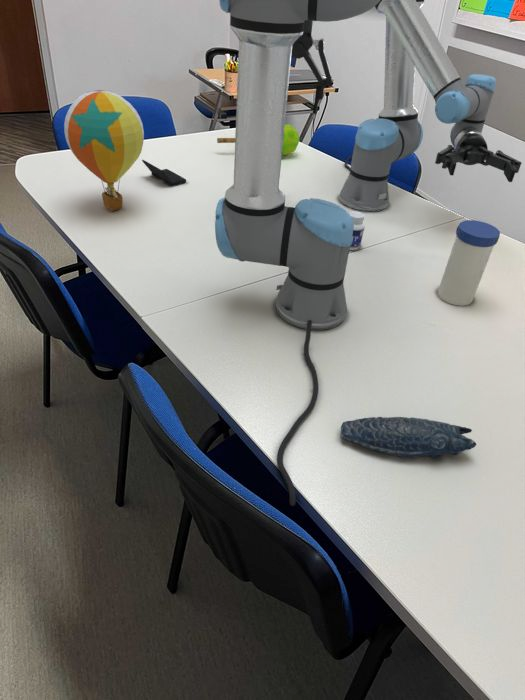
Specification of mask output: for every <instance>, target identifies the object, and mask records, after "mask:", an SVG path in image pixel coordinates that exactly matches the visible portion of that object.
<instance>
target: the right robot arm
mask: <svg viewBox="0 0 525 700" xmlns="http://www.w3.org/2000/svg"><path fill="white" fill-rule="evenodd" d="M424 4H425V0H380V1H379V3H378V4H377V5H376V6H374V8H375V9H376V11H377V13H378V14H381V15H384V16H385V44H384V45H385V46H384V47H385V48H384V51H385V52H384V83H383V85H384V87H383V88H384V89H383V108H382V110H381V111H380V112H379V113H378V118H377V117H376V118H369V119H365V120H363V121H362V122H361V123H360V124H359V125H358V127H357V131H356V134H355V138H354V144H353V145H354V147H353V150H352V151H353V152H352V156H349V157H348V158H347V159H346V160H345V161H344V166H345V168H347V170H349V174H348V176H347V178H346V179H345V182H344V183H343V186H342V188H341V189H340V192H339V197H338V200H339V201H340V203H341V204H343V205H344V206H345V207H348V208H350V209H353V210H355V211H356V210H357V211H360V212H361V211H363V212H381V211H383V210H385V209H387V208H388V206H389V202H390V196H389V195H390V194H389V193H390V192H389V182H388V179H389V175H390V170H391V166H392V163H395V162H398V161H400V160H403V159H406V158H408V157H411V155H413V154H414V153H415V152H416V151H417V150H418V149H419V148H420V146H421V144H422V141H423V138H424V137H423V136H424V129H423V125H422V123H420V121H419V110H418V109H417V108H416V107H415V106H414V96H415V81H416V79H415V78H416V77H415V76H416V70H417V72H418V74H419V76H420V77H421V79H422V81H423V82H424V84H425V86H426V87H427V89H428V92H429V93H430V95H431V96H432V98H433V100H434V101H435V105H434V112H435V117H436V118H437V120H438V121H439V122H441V123H443V124H446V125H449V124H453V126H452V127H451V129H450V136H449V137H450V143H451V144H448V145H447V147H445V148H443V149H442V150H440V151H438V152H437V154H436V158H435V162H434V164H435V165H441V168H442V169H443V170H446V169H447V170H448V173H449V176H454V174H455V171H456V168H457V164H458V163H460V164H463V165H465V166H474V165H479V164H480V165H482V166H484V167H487V166H490V167H493V168H495V169H498V170H500V171H502V172H503V175H504V176H505V178H506V180H507V182H508V183H513V181H514V177H515V175H516V174H518V173H519V172H520V169H521V166H522V163H523V162H521V161H519V160H518V159H516V158H514V157H512V156H510V155H507V154H506V153H504V152H503V151H502V150H499V149H497V150H496V152H494V151H492V150H489V149H488V148H489V147H488V144H487V141H486V139H485V137H484V136H483V133H482V132H483V129H484V126H485V122H486V118H487V116H488V112H489V108H490V107H491V106H490V105H491V102H492V99H493V96H494V94H495V89H496V84H497V78H495V77H494V76H492V75H487V74H479V73H474V74H470V75H469V76H467V79H466V82H465V83H464V81H463V80H462V79H461V76H460V75H459V73H458V71H457V69H456V68H455V66H454V64H453V62H452V61H451V59H450V57H449V56H448V54H447V52H446V50H445V49H444V47H443V45H442V43H441V42H440V40H439V38H438V37H437V34H436V33H435V31H434V30H433V28H432V26H431V24H430V23H429V21H428V19H427V17H426V15H425V13H424V12H423V11H422V9H421V8H422V6H423V5H424ZM350 160H351V163H350V166H349V165H348V162H349V161H350Z"/></svg>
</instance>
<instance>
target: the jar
mask: <svg viewBox="0 0 525 700" xmlns="http://www.w3.org/2000/svg"><path fill="white" fill-rule="evenodd" d="M494 247H495V245H494V246H490V247H480V246H475V245H471V244H468V243H466V242H464V241H462V240H460V239H459V238H458V237H457V235H456V236H455V238H454V242H453V244H452V248H451V251H450V254H449V257H448V260H447V263H446V266H445V267H444V272H443V274H442V277H441V281H440V284H439V286H438V289H437V296H438V297H439V298H440V299H441V300H442V301H444V302H445V303H448V304H451V305H454V306H462V307H463V306H468V305H470V304H472V303H473V300H474V299H475V295H476V293H477V291H478V288H479V285H480V283H481V280H482V278H483V276H484V275H483V274H484V272H485V270H486V267H487V264H488V262H489V259H490V257H491V254H492V252H493V250H494Z"/></svg>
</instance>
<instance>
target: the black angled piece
mask: <svg viewBox="0 0 525 700" xmlns="http://www.w3.org/2000/svg"><path fill="white" fill-rule="evenodd" d="M141 161H142V163H143V164H144V165H145V167H147V169H148V170H149V171H150V172H151V174H150V175H151V176H153V177H155V178H156V179H158V180H160V181H162V182H163V183H165V184H167V185H168V186H170V187H172V186H177V185H180V184H184V183H185V184H186V183H187V179H186V178H184V177H183V176H181V175H179V174H177V173H175V172H173V171H172V170H170V169H168V168H164V169H161V168H159V167H157V166H155V165H153V164H151V163H150V162H148V161H146V160H145V159H142V160H141Z"/></svg>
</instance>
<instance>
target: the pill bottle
mask: <svg viewBox="0 0 525 700" xmlns="http://www.w3.org/2000/svg"><path fill="white" fill-rule="evenodd" d="M348 213H349V214H350V215H351V217H352V219H353V222H354V228H353V235H352V238H353V242H352V244H351V245H350V250H349V251H354V250H355V251H356V250H359V249H360V247H361V244H362V240H363V236H364V230H365V223H364V220H365V214H364V213H363V212H361V211H358V210H357V211H356V210H352V211H349V212H348Z"/></svg>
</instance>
